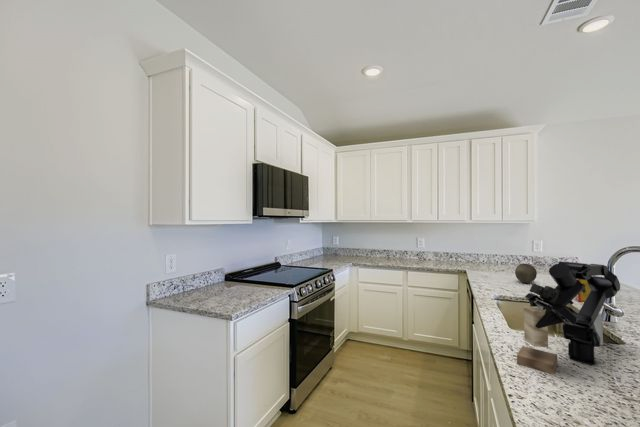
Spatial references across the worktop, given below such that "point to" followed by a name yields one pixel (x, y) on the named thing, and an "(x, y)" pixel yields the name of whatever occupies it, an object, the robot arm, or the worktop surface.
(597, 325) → the skincare box
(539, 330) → the ash block
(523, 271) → the cantaloupe
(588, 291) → the baking soda box
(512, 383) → the worktop surface
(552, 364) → the walnut block
